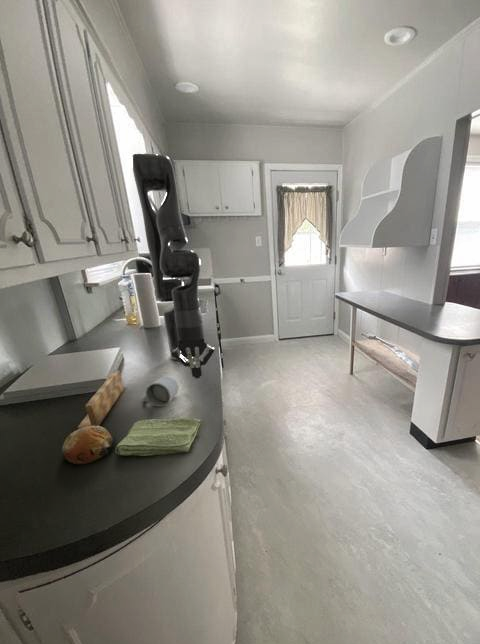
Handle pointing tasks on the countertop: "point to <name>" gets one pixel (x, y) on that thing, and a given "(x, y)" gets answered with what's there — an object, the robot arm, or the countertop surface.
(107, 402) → the mottled tan rectangular block
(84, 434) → the bread roll
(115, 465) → the countertop surface
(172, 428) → the washcloth
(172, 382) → the ceramic mug
